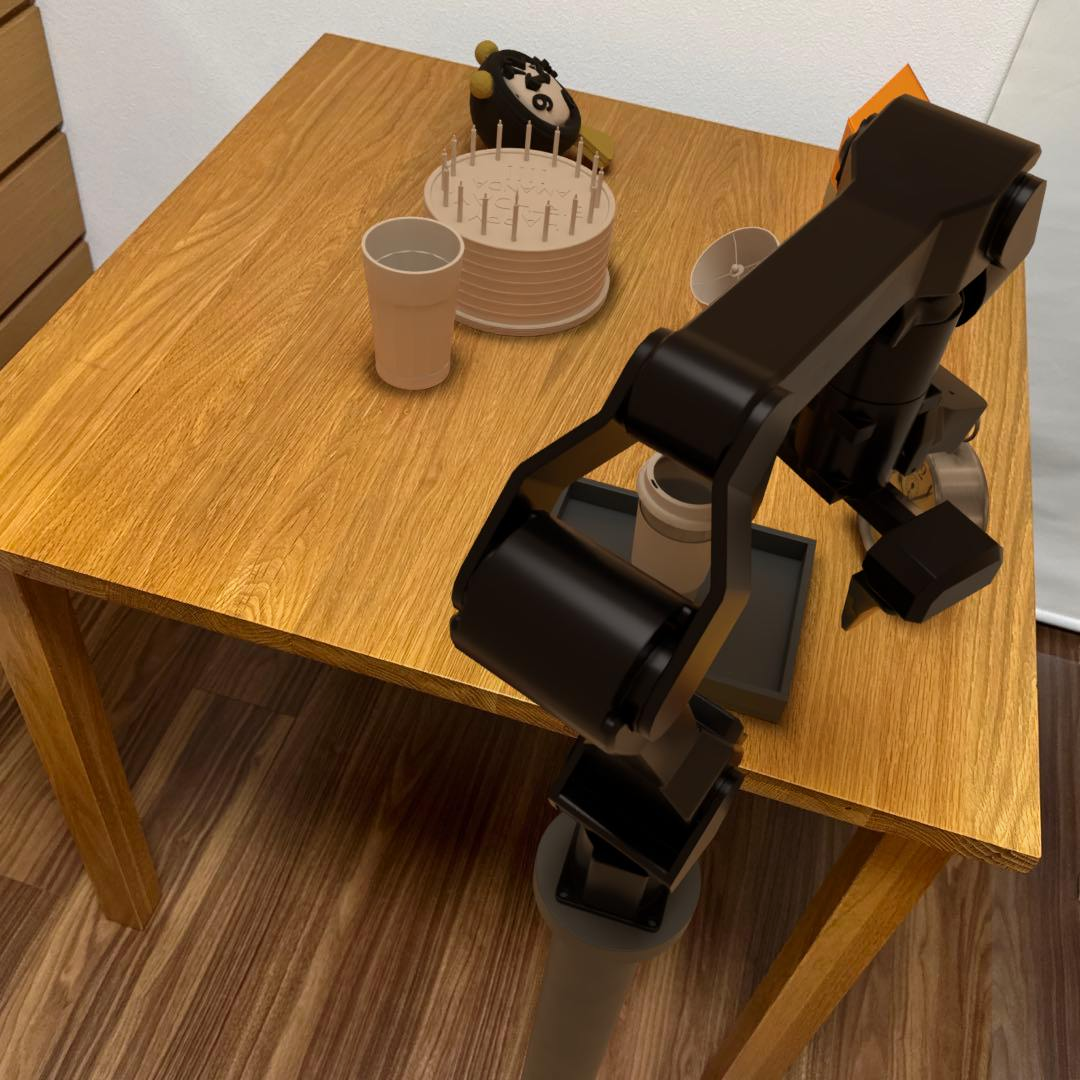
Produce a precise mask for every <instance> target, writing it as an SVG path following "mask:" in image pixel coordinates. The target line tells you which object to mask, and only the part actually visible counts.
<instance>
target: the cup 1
mask: <svg viewBox="0 0 1080 1080" xmlns="http://www.w3.org/2000/svg"><path fill="white" fill-rule="evenodd" d="M360 246H361V247H360V248H361V253H362V255H361V256H362V261H363V268H364V275H365V276H364V277H365V282H366V287H367V296H368V304H369V312H370V322H371V328H372V336H373V345H374V353H375V354H374V356H375V370H376V373H377V375H378V377H379V378H380V379H381V380H382V381H384V383H386V384H388V385H390V386H392V387H395V388H398V389H402V390H408V391H420V390H426V389H429V388H434V387H436V386H437V385H439V384H441V383H442V382H443V381H444V380H445V379H446V378H447V377H448V376H449V373H450V371H451V354H452V353H451V352H452V344H453V335H454V328H455V322H456V321H455V313H456V305H457V297H458V288H459V283H460V276H461V269H462V262H463V255H464V242H463V239H462V237H461V236H460V235H459V233H458V232H457V231H455V230H454V229H453V228H451V227H450V226H448V225H446V224H444V223H442V222H439V221H436V220H433V219H429V218H423V216H398V217H391V218H388V219H384V220H382V221H379V222H377V223H375V224H374V225H372V226H371V227H369V228H368V229H367V230H366V232H364V233H363V235H362V238H361V242H360Z"/></svg>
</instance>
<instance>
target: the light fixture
mask: <svg viewBox="0 0 1080 1080" xmlns="http://www.w3.org/2000/svg"><path fill="white" fill-rule="evenodd" d="M780 244H781V242H780V241H779V239H778V238H777V237H776V236H775V234H773V232H772V231H770V230H768V229H767V228H763V227H759V226H746V227H740V228H737V229H734V230H732V231H729V232H727V233H725V234H723V235H721V236H719V238H717V239H716V240H714V241H713V242H712V243H711V244H710V245H709V246H707V247H706V249H704V251H702V253H700V255H699V257H698V259H697V260H696V261H695V263H694V265H693V267H692V269H691V272H690V273H691V274H690V278H689V287H690V291H691V293H692V296H693V297H694V299H695V300H696V303H698V305H699V306H700V308H701V311H702V310H703V309H705V308H706V307H707V306H708V305H709V304H710V303H712V302H713V301H714V300H715V299H716V298H718V297H719V296H720V295H721V294H722V293H723V292H725V291H726V290H727V289H728V288H729V287H730V286H732V285H733V284H734V283H735V282H736V281H738V280H739V279H740V278H741V277H742V276H743V275H745V274H746V273H747V272H748V271H749V270H750V269H752V268H753V267H754V266H755V265H756V264H758V263H759V262H760V261H761V260H762V259H763V258H765V257H766V256H767V255H768V254H769V253H770V252H772V251H773V250H774V249H775V248H776V247H778V246H779V245H780Z"/></svg>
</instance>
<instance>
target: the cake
mask: <svg viewBox="0 0 1080 1080" xmlns="http://www.w3.org/2000/svg"><path fill="white" fill-rule="evenodd" d="M530 122H531V121H530V120H529V123H528V125H527V131H526V143H525V149H519V148H501V140H502V124H501V120H499V124H498V128H497V145H496V149H488V148H487V149H479V150H476V145H477V143H476V141H477V132H476V129H475V125H473V124H472V128H471V132H470V152H467V153H463V154H460V155H458V156H457V145H458V144H457V143H458V139H456V135H455V134H453V137H452V139H451V155H450V156H451V157H450V158H451V159H449V160H448V153H447V150H446V148H443V152H442V153H441V164H440V165H439V166H438V167H437V168H436V169H434V171H432V172H431V174H430V175H429V176H428V178H427V179H426V182H425V184H424V187H423V216H422V217H423V218H429V219H433V220H436V221H439V222H442V223H444V224H446V225H448V226H450V227H451V228H453V229H454V230H455V231H457V232H458V233H459V235H460V236H461V237H462V239H463V242H464V255H463V262H462V269H461V276H460V283H459V288H458V297H457V305H456V313H455V321H454V322H458V323H459V324H462V325H464V326H466V327H469V328H472V329H475V330H478V331H482V332H485V333H486V332H487V333H489V334H496V335H502V336H503V335H504V336H512V337H513V336H515V337H533V336H544V335H551V334H556V333H560V332H563V331H566V330H570V329H572V328H575V327H577V326H579V325H581V324H583V323H585V322H586V321H588V320H590V319H591V318H592V317H593V316H595V314H597V313H598V312H599V311H600V310H601V308H602V307H603V305H604V304H605V302H606V300H607V297H608V294H609V289H610V279H611V278H610V272H609V269H608V264H609V256H610V251H611V250H610V249H611V245H612V244H611V243H612V236H613V231H614V224H615V215H616V212H617V204H616V203H617V202H616V197H615V195H614V193H613V191H612V190H611V187H610V186H609V185H608V184H607V183H606V182H605V180H604V174H605V171H603V170H604V169H603V167H601V169H600V170H599V171H598V169H599V168H598V161H599V156H598V151H597V152H596V155H595V156H594V162H592V170H591V169H590V168H588V167H586V166H584V165H583V164H582V158H583V153H582V151H583V141H582V139H583V138H582V137H581V139H580V141H579V144H578V148H577V153H576V161H574V160H572V159H569V158H567V157H564V156H558V145H559V136H560V131H559V127H557V130H556V131H555V138H554V148H553V154H551V153H547V152H542V151H537V150H530V139H531V127H532V125H530Z"/></svg>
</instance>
